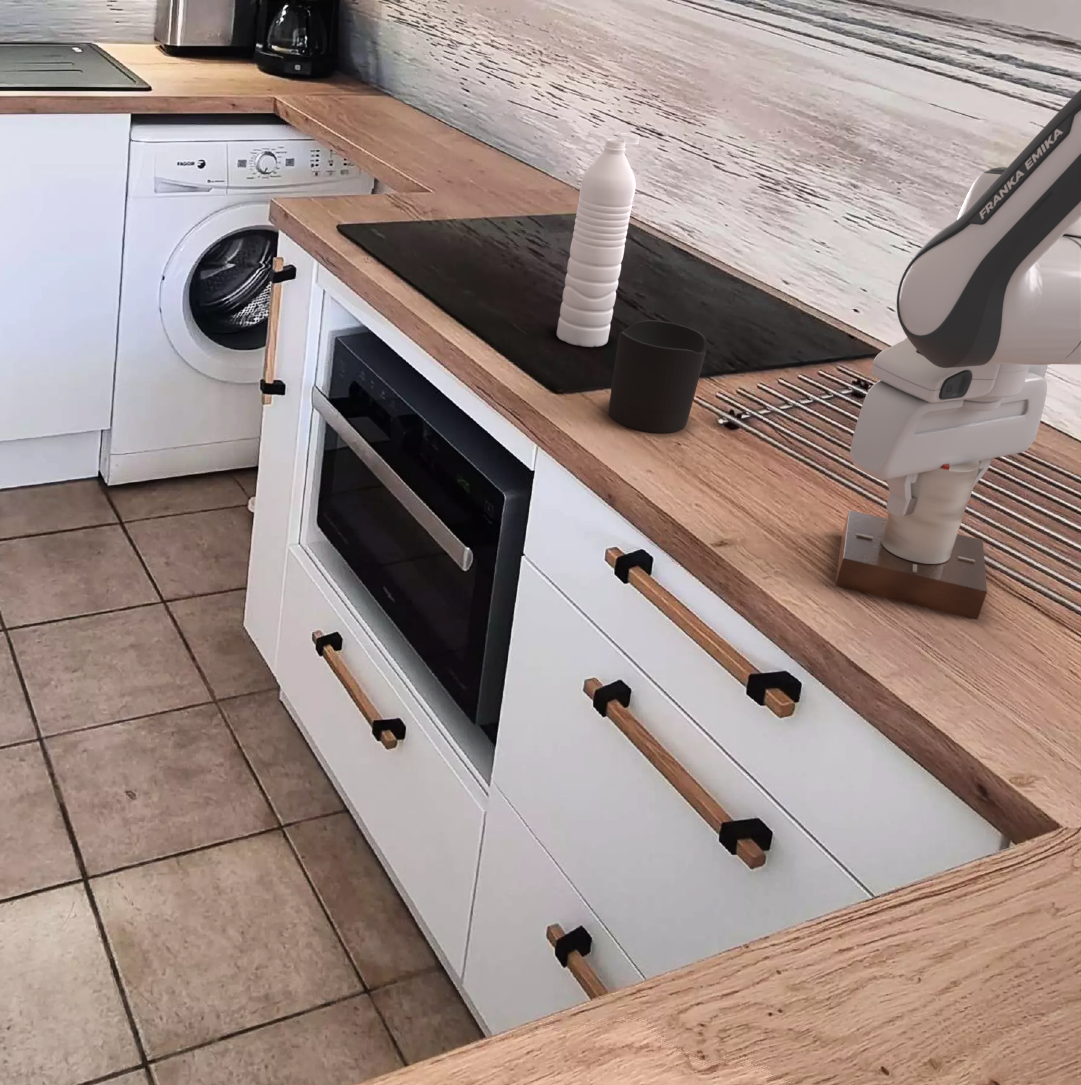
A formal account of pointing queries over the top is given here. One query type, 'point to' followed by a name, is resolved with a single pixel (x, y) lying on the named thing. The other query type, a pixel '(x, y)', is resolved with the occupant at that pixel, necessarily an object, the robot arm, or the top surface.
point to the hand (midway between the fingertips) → (926, 507)
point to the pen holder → (656, 375)
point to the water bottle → (598, 246)
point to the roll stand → (911, 570)
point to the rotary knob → (932, 515)
